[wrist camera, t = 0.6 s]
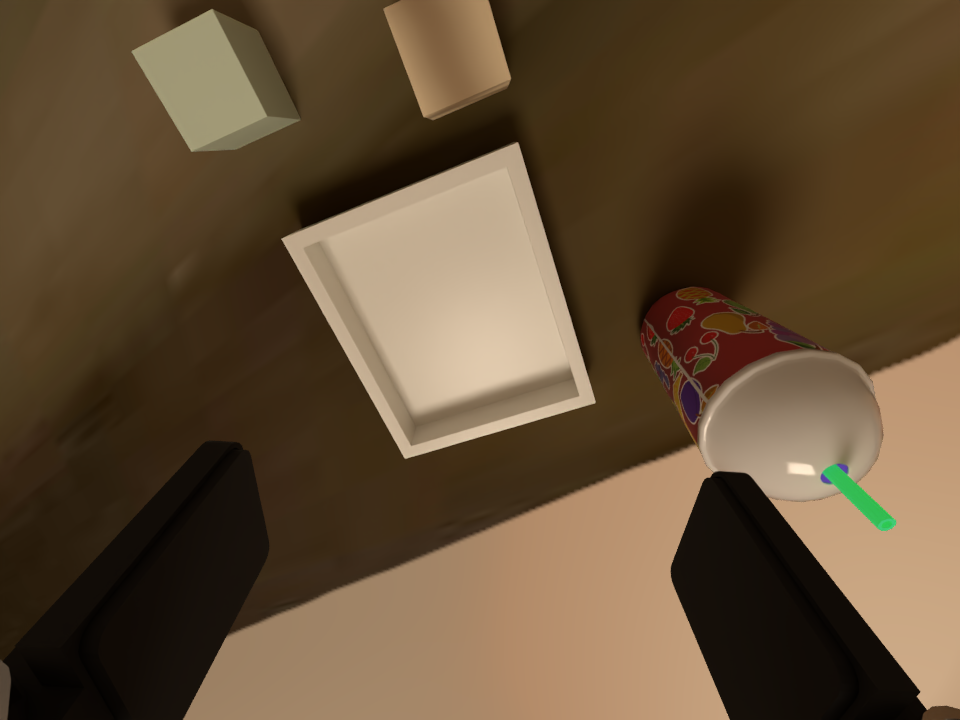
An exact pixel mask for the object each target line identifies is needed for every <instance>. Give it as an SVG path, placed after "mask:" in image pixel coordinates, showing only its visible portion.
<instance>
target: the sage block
mask: <svg viewBox="0 0 960 720" xmlns="http://www.w3.org/2000/svg"><path fill="white" fill-rule="evenodd" d="M131 52H132V53H133V55H134V57H135V58H136V60H137V62H138V63H139V65H140V67H141V68H142V70H143V72H144V73H145V75H146V77H147V78H148V80H149V82H150V83H151V85H152V87H153V88H154V90H155V92H156V93H157V95H158V97H159V98H160V100H161V102H162V103H163V105H164V107H165V108H166V110H167V112H168V113H169V115H170V117H171V118H172V120H173V122H174V123H175V125H176V127H177V128H178V130H179V132H180V133H181V135H182V137H183V138H184V140H185V142H186V143H187V145H188V147H189V148H190V150H191V152H194V151H215V150H236V149H238V148H240V147H242V146H245V145H247V144H249V143H251V142H253V141H256V140H258V139H260V138H262V137H264V136H267V135H269V134H271V133H273V132H275V131H278V130H280V129H282V128H284V127H286V126H288V125H291V124H293V123H295V122H297V121H299V120H301V118H300V116H299V114H298V112H297V110H296V108H295V106H294V104H293V102H292V100H291V98H290V95H289V93H288V91H287V89H286V87H285V85H284V83H283V81H282V79H281V77H280V75H279V73H278V71H277V69H276V67H275V65H274V62H273V60H272V58H271V56H270V54H269V52H268V50H267V48H266V46H265V44H264V42H263V40H262V38H261V36H260V34H259V32H258V30H256V29H254V28H252V27H250V26H247V25H245V24H243V23H241V22H239V21H237V20H235V19H233V18H230V17H228V16H226V15H224V14H222V13H220V12H218V11H215V10H213V9H211V10H209V11H207V12H205V13H203V14H202V15H200V16H198V17H196V18H194V19H192V20H190V21H188V22H186V23H184V24H183V25H181V26H179V27H177V28H175V29H173V30H171V31H169V32H167V33H165V34H164V35H162V36H160V37H158V38H156V39H154V40H152V41H150V42H148V43H146V44H144V45H143V46H141V47H139V48H137V49H135V50H133V51H131Z"/></svg>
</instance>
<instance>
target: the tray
mask: <svg viewBox="0 0 960 720" xmlns="http://www.w3.org/2000/svg"><path fill="white" fill-rule="evenodd" d="M282 241H283V242H284V244H285V246H286V248H287V249H288V251H289V253H290V255H291V257H292V258H293V260H294V262H295V264H296V265H297V267H298V269H299V271H300V273H301V274H302V276H303V278H304V280H305V282H306V283H307V285H308V287H309V289H310V290H311V292H312V294H313V296H314V298H315V299H316V301H317V303H318V305H319V306H320V308H321V310H322V312H323V314H324V315H325V317H326V319H327V321H328V322H329V324H330V326H331V328H332V330H333V331H334V333H335V335H336V337H337V338H338V340H339V342H340V344H341V346H342V347H343V349H344V351H345V353H346V354H347V356H348V358H349V360H350V362H351V363H352V365H353V367H354V369H355V370H356V372H357V374H358V376H359V378H360V379H361V381H362V383H363V385H364V386H365V388H366V390H367V392H368V394H369V395H370V397H371V399H372V401H373V403H374V404H375V406H376V408H377V410H378V411H379V413H380V415H381V417H382V419H383V420H384V422H385V424H386V426H387V427H388V429H389V431H390V433H391V435H392V436H393V438H394V440H395V442H396V443H397V445H398V447H399V449H400V451H401V452H402V454H403V456H404V458H405V459H406V458H410V457H413V456H416V455H420V454H423V453H427V452H430V451H433V450H437V449H440V448H444V447H447V446H450V445H454V444H457V443H461V442H464V441H467V440H471V439H474V438H478V437H481V436H485V435H488V434H491V433H495V432H498V431H502V430H505V429H508V428H512V427H515V426H519V425H522V424H525V423H529V422H532V421H536V420H539V419H542V418H546V417H549V416H553V415H556V414H560V413H563V412H566V411H570V410H573V409H577V408H580V407H583V406H587V405H590V404H594V403H596V402H595V398H594V395H593V392H592V388H591V385H590V382H589V378H588V375H587V372H586V368H585V365H584V362H583V358H582V355H581V352H580V348H579V345H578V341H577V338H576V335H575V331H574V328H573V325H572V321H571V318H570V315H569V311H568V308H567V305H566V301H565V298H564V294H563V291H562V288H561V284H560V281H559V278H558V274H557V271H556V268H555V264H554V261H553V258H552V254H551V251H550V248H549V244H548V241H547V237H546V234H545V231H544V227H543V224H542V221H541V217H540V214H539V211H538V207H537V204H536V201H535V197H534V194H533V190H532V187H531V184H530V180H529V177H528V174H527V170H526V167H525V164H524V160H523V157H522V154H521V150H520V147H519V144H518V142H513V143H510V144H508V145H506V146H503V147H501V148H498V149H496V150H493V151H491V152H488V153H486V154H484V155H481V156H479V157H476V158H474V159H471V160H469V161H466V162H464V163H462V164H459V165H457V166H454V167H452V168H449V169H447V170H444V171H442V172H439V173H437V174H435V175H432V176H430V177H427V178H425V179H422V180H420V181H417V182H415V183H413V184H410V185H408V186H405V187H403V188H400V189H398V190H395V191H393V192H390V193H388V194H386V195H383V196H381V197H378V198H376V199H373V200H371V201H368V202H366V203H364V204H361V205H359V206H356V207H354V208H351V209H349V210H346V211H344V212H342V213H339V214H337V215H334V216H332V217H329V218H327V219H324V220H322V221H319V222H317V223H315V224H312V225H310V226H307V227H305V228H302V229H300V230H298V231H296V232H294V233H292V234H290V235H288V236H286V237H284V238H282Z"/></svg>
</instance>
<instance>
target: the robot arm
mask: <svg viewBox="0 0 960 720" xmlns="http://www.w3.org/2000/svg"><path fill="white" fill-rule="evenodd" d="M268 552H269V539H268V535H267V530H266V525H265V521H264V516H263V511H262V506H261V502H260V497H259V492H258V487H257V483H256V478H255V473H254V469H253V464H252V459H251V455H250V452H249V451H247V450H243V448H242V445H241V444H240V443H237V442H225V441H207V442H205V443H204V444H202V445H201V446H200V447H199V448H198V449H197V451H196V452H195V453H194V454H193V455H192V456H191V457H190V458H189V459H188V460H187V461H186V462H185V463H184V465H183V466H182V467H181V468H180V469H179V470H178V471H177V472H176V473H175V474H174V475H173V476H172V477H171V478H170V480H169V481H168V482H167V483H166V484H165V485H164V486H163V487H162V488H161V489H160V490H159V491H158V492H157V494H156V495H155V496H154V497H153V498H152V499H151V500H150V501H149V502H148V503H147V504H146V505H145V506H144V507H143V509H142V510H141V511H140V512H139V513H138V514H137V515H136V516H135V517H134V518H133V519H132V520H131V521H130V523H129V524H128V525H127V526H126V527H125V528H124V529H123V530H122V531H121V532H120V533H119V534H118V535H117V537H116V538H115V539H114V540H113V541H112V542H111V543H110V544H109V545H108V546H107V547H106V548H105V549H104V550H103V552H102V553H101V554H100V555H99V556H98V557H97V558H96V559H95V560H94V561H93V562H92V563H91V564H90V566H89V567H88V568H87V569H86V570H85V571H84V572H83V573H82V574H81V575H80V576H79V577H78V578H77V580H76V581H75V582H74V583H73V584H72V585H71V586H70V587H69V588H68V589H67V590H66V591H65V592H64V593H63V595H62V596H61V597H60V598H59V599H58V600H57V601H56V602H55V603H54V604H53V605H52V606H51V607H50V609H49V610H48V611H47V612H46V613H45V614H44V615H43V616H42V617H41V618H40V619H39V620H38V621H37V623H36V624H35V625H34V626H33V627H32V628H31V629H30V630H29V631H28V632H27V633H26V634H25V635H24V636H23V638H22V639H21V640H20V641H19V642H18V643H17V644H16V645H15V649H14V650H13V651H12V652H11V653H10V654H9V655H8V656H7V657H6V658H5V659H4V660H3V661H1V660H0V720H183V718H184V716H185V714H186V712H187V711H188V709H189V707H190V705H191V703H192V701H193V699H194V697H195V695H196V693H197V692H198V690H199V688H200V686H201V684H202V682H203V680H204V678H205V676H206V674H207V672H208V670H209V669H210V667H211V665H212V663H213V661H214V659H215V657H216V655H217V653H218V651H219V649H220V648H221V646H222V643H223V642H224V640H225V638H226V636H227V634H228V632H229V630H230V628H231V626H232V625H233V623H234V621H235V619H236V617H237V615H238V613H239V611H240V609H241V607H242V605H243V604H244V602H245V600H246V598H247V596H248V594H249V592H250V590H251V588H252V586H253V584H254V582H255V581H256V579H257V577H258V575H259V573H260V571H261V569H262V567H263V565H264V563H265V561H266V559H267V556H268ZM671 578H672V582H673V585H674V587H675V590H676V592H677V595H678V597H679V600H680V602H681V604H682V607H683V609H684V611H685V613H686V616H687V618H688V621H689V623H690V626H691V628H692V630H693V633H694V635H695V638H696V640H697V642H698V645H699V647H700V650H701V652H702V654H703V657H704V659H705V662H706V664H707V666H708V669H709V671H710V673H711V676H712V678H713V680H714V683H715V685H716V687H717V690H718V692H719V695H720V697H721V699H722V702H723V704H724V707H725V709H726V711H727V714H728V716H729V719H730V720H960V709H957V708H953V707H949V706H935V707H931V708H930V709H928V710H926V708H925V707H924V706H923V704H922V703H921V702H920V700H919V699H918V698H917V697H916V696H917V695H918V694H919V693H920V691H919V689H918V688H917V687H916V686H915V684H914V683H913V682H912V680H911V679H910V678H909V677H908V675H907V674H906V673H905V672H904V670H903V669H902V668H901V666H900V665H899V664H898V663H897V661H896V660H895V659H894V658H893V656H892V655H891V654H890V652H889V651H888V650H887V649H886V647H885V646H884V645H883V644H882V642H881V641H880V640H879V638H878V637H877V636H876V635H875V633H874V632H873V631H872V630H871V628H870V627H869V626H868V624H867V623H866V622H865V621H864V620H863V618H862V617H861V616H860V614H859V613H858V612H857V610H856V609H855V608H854V607H853V605H852V604H851V603H850V602H849V600H848V599H847V598H846V597H845V595H844V594H843V593H842V591H841V590H840V589H839V588H838V586H837V585H836V584H835V582H834V581H833V580H832V579H831V578H830V576H829V575H828V574H827V572H826V571H825V570H824V569H823V567H822V566H821V565H820V563H819V562H818V561H817V560H816V558H815V557H814V556H813V554H812V553H811V552H810V551H809V549H808V548H807V547H806V546H805V544H804V543H803V542H802V540H801V539H800V538H799V537H798V536H797V534H796V533H795V532H794V530H793V529H792V528H791V526H790V525H789V524H788V523H787V522H786V520H785V519H784V518H783V516H782V515H781V514H780V513H779V511H778V510H777V509H776V508H775V506H774V505H773V504H772V502H771V501H770V500H769V498H768V497H767V496H766V495H765V493H764V492H763V491H762V490H761V488H760V487H759V486H758V484H757V483H756V482H755V481H754V479H753V478H752V477H751V476H750V475H749V474H747V473H743V472H726V471H716V472H714V473H713V474H712V476H711V477H710V478H706V479H705V480H704V481H703V483H702V486H701V488H700V491H699V494H698V496H697V499H696V502H695V504H694V507H693V510H692V512H691V515H690V517H689V520H688V523H687V525H686V528H685V531H684V533H683V536H682V538H681V541H680V544H679V546H678V549H677V552H676V554H675V557H674V560H673V562H672V565H671Z"/></svg>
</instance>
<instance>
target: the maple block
mask: <svg viewBox="0 0 960 720" xmlns="http://www.w3.org/2000/svg"><path fill="white" fill-rule="evenodd" d="M383 10H384V12H385V15H386V18H387V20H388V23H389V26H390V28H391V31H392V34H393V36H394V39H395V42H396V44H397V47H398V50H399V52H400V55H401V58H402V60H403V63H404V66H405V68H406V71H407V74H408V76H409V79H410V82H411V84H412V87H413V90H414V92H415V95H416V98H417V100H418V103H419V106H420V108H421V111H422V114H423V116H424V117H426V118H429V119H432V120H435V119H437V118H440V117H442V116H444V115H446V114H449V113H451V112H453V111H456V110H458V109H460V108H463V107H465V106H467V105H470V104H472V103H474V102H477V101H479V100H481V99H484V98H486V97H488V96H491V95H493V94H495V93H497V92H500V91H502V90H504V89H507V88H508V85H509V83H510V80H511V77H510V73H509V70H508V67H507V63H506V60H505V56H504V53H503V49H502V46H501V42H500V39H499V35H498V32H497V28H496V25H495V21H494V18H493V14H492V11H491V7H490V4H489V1H488V0H400V1H398V2H396V3H394V4H392V5H390V6H388V7H386V8H384V9H383Z"/></svg>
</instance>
